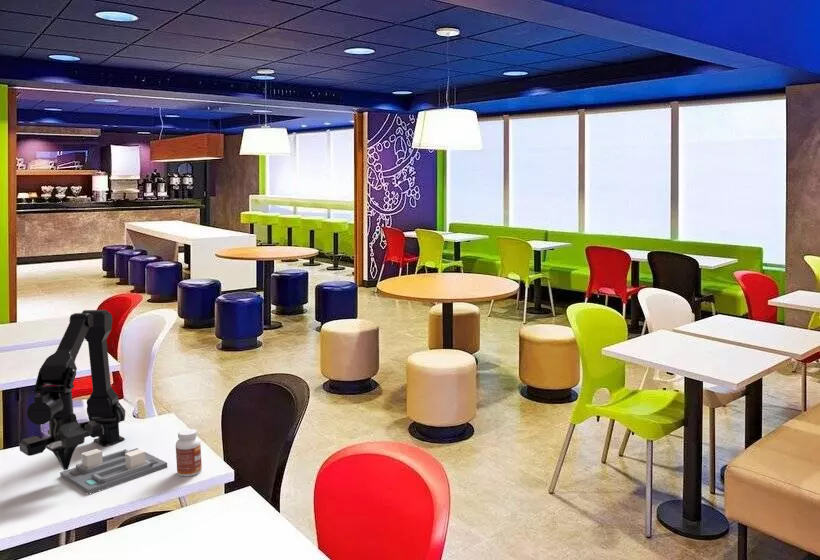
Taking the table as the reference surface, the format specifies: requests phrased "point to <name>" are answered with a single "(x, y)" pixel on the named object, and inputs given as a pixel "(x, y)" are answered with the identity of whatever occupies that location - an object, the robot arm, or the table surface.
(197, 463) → the pill bottle
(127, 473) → the switch board
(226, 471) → the table surface
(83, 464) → the tab
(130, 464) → the tab
